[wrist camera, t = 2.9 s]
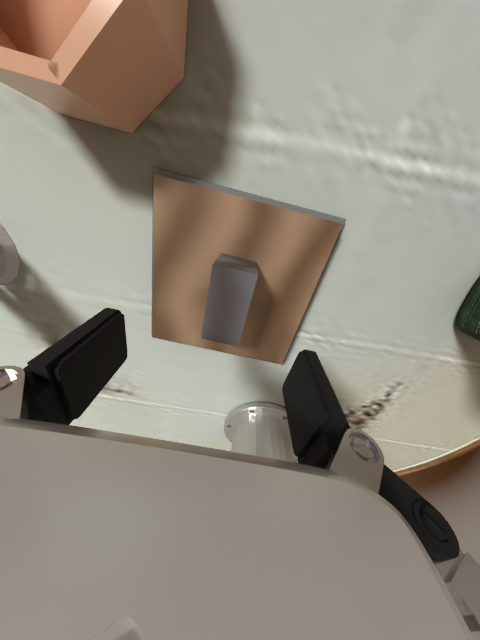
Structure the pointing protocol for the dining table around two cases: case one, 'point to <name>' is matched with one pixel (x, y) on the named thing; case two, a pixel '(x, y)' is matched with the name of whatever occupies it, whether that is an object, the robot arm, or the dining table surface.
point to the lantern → (8, 258)
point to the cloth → (232, 269)
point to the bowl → (94, 55)
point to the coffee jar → (471, 313)
